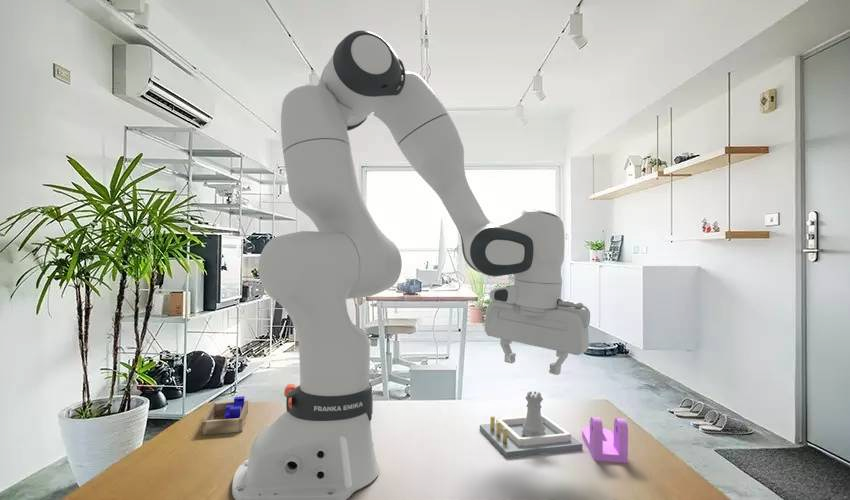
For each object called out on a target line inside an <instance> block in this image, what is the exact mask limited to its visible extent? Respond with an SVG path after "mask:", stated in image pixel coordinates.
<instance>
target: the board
mask: <svg viewBox="0 0 850 500" xmlns="http://www.w3.org/2000/svg"><path fill="white" fill-rule="evenodd" d="M526 417H527V415H526V416H525V415H524V416H514V417H511V416H510V417H501V418H496V417H495V416H493V415H492V416H490V420H489V421H490V423H486V424H485V423H483V424H479V431H480V432H481V433H482V434H483V435H484V436H485V437H486V438H487V439H488V440H489V441H490V442H491V443H492V445H494V447H496V449H497V450H498V451H499V452H500V453H501V454H502V455H503V456H504V457H505V458H506V459H507V458H508V459H509V458H516V457H523V456H524V457H526V456H535V455H543V454H544V455H545V454H553V453H562V452H563V453H564V452H572V451H580V450H582V451H583V443H582V442H580V441H579V440H578V439H577V438H575V437H573V436H572V433H570V432H569V431H568V430H566V429H565V428H563V427H562V426H560V425H559V424H558V423H557V422H555V421H554V420H552V419H551V418H549V417H548V416H547V415H545V414H541V420H542V422H543V425H544V426H545V431H544V432H545V433H546V434H545V435H542V436H532V437H525V436H524V435H523V433H522V430H523V428H522V426H523V424H524V423H525V420H526ZM495 418H496V419H495ZM495 421H496V422H495Z"/></svg>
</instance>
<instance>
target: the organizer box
mask: <svg viewBox="0 0 850 500" xmlns="http://www.w3.org/2000/svg"><path fill="white" fill-rule="evenodd" d="M227 404H234V401H224V402H212V404H211V405H210V407H209V409H208V411H207V413H206V415H205V416H204V419H203V420H202V426H201V427H202V428H201V429H202V433H201V434H202V435H203V436H205V435H216V434H217V435H218V434H229V433H241V432H243V430H244V428H245V423H246V420H247V416H248V413H249V400H245V403H244V406H243V409H242V412H241V415H240V418H235V419H225V418H224V419H223V418H222V419H214V418H215V417H216V416H225V412H226V406H227ZM202 435H201V436H202Z"/></svg>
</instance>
